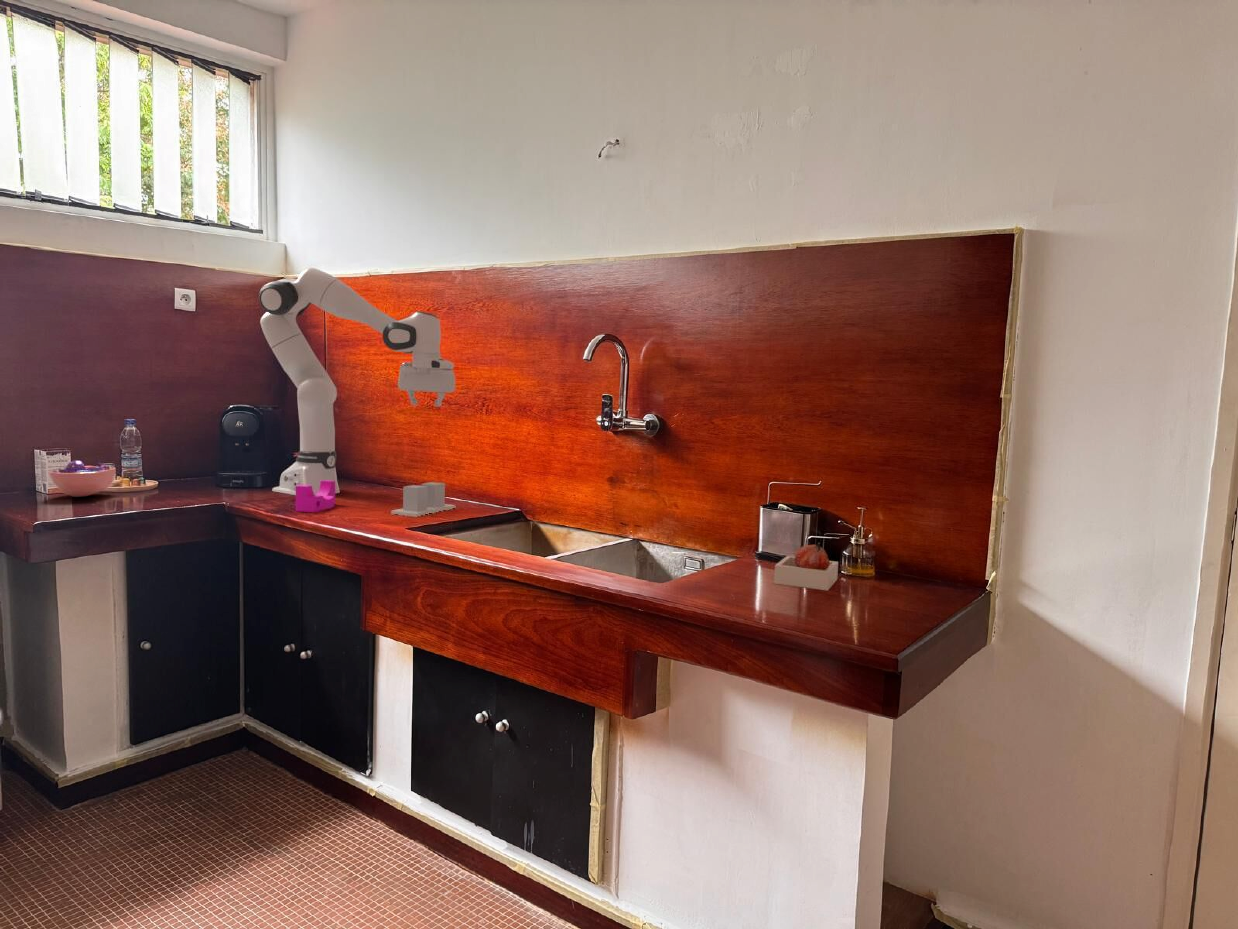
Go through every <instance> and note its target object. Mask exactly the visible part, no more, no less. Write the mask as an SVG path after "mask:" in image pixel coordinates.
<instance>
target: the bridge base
mask: <svg viewBox="0 0 1238 929" xmlns="http://www.w3.org/2000/svg"><path fill="white" fill-rule="evenodd" d="M402 487H403V489H402V490H403V491H402V494H403V495H402V496H403V497H402V504H403V505H402V508H398V509H393V510H390V511H391V512H390V513H391V514H390V515H395V514H398V515H397V516H403V515H404V516H405V517H413V518H419V517H422V516H421V515H423V516H426V515H425V514H428V515H430V514H429V513H432V514H436V512H437V513H440V512H439V511H441V512H444V511H443V510H446V511H449V510H454V509H453V508H455V509H456V505H457V504H449V503H445V500H446V499H445V498H446V497H445V496H446V495H445V494H446V493H445V492H446V483H444V482H434V481H430V482H425V483H421V485H417V484H416V485H415V484H412V485H407V486H402ZM418 516H419V517H418Z"/></svg>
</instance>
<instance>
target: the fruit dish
mask: <svg viewBox="0 0 1238 929" xmlns="http://www.w3.org/2000/svg"><path fill="white" fill-rule="evenodd" d="M838 572H839V561H833V560H829V567H828V568H827V569H826V570H817V569H809V568H801V567H798V566H796V564H795V556H791V555H786V556H785V557H783V558H782V559H781V560H779V562H777V563H776V564H775V565H774V576H773V584H775V585H782V586H783V585H784V586H790V587H798V588H805V589H813V590H821V591H829V590H830V589H831V588H832V586H833V585H834V584H835V582H837V580H838V574H839V573H838Z"/></svg>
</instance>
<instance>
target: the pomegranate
mask: <svg viewBox="0 0 1238 929" xmlns="http://www.w3.org/2000/svg"><path fill="white" fill-rule="evenodd" d="M794 557H795V564H796V566H798V567H801V568H809V569H817V570H826V569H827V568H828V567H829V561H830V560H829V557H828V553H827V552H826V550H825V549H824V548H822V547H821V543H820V542H818V543H817V544H808V545H807V544H806V545H803V546H801V547H800V548H799V549H798V550H797V551H796V553H795V555H794Z"/></svg>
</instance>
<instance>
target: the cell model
mask: <svg viewBox="0 0 1238 929" xmlns="http://www.w3.org/2000/svg"><path fill="white" fill-rule="evenodd" d="M97 465H98V466H97ZM97 465H96V466H95V465H85V464H84V463H83V462H82V461H81V460H76V459H75V460H72V461H70V462H68V463H67V465H66V466H63V467H58V468H54V469H51V470H48V476H49V478H50V479H51V482H52V484H54V486H55V487H56V488H57V489H58V490H59V491H61V492H62V493H64V494H66V495H68V496H70V497H76V498H78V497H88V496H91V495H95V494H96V493H100V492H103V491H105V490H106V489H108V488H110V487H112V485H113V483H114V481H115V478H116V467H113V466H109V465H107V464H103V463H102V462H98V464H97Z"/></svg>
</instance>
